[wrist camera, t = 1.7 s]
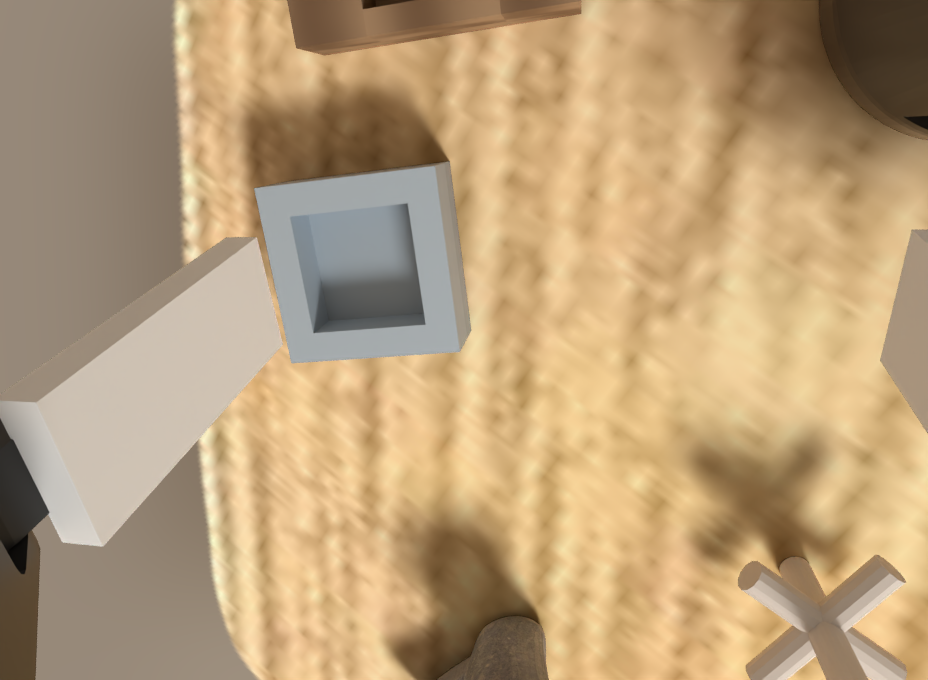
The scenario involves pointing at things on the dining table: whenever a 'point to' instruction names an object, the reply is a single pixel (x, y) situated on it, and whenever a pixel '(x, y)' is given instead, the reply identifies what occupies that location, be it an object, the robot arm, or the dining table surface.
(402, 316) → the blue-grey square socket
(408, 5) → the brown wooden holder
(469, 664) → the pipe
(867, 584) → the pipe connector
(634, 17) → the dining table surface
